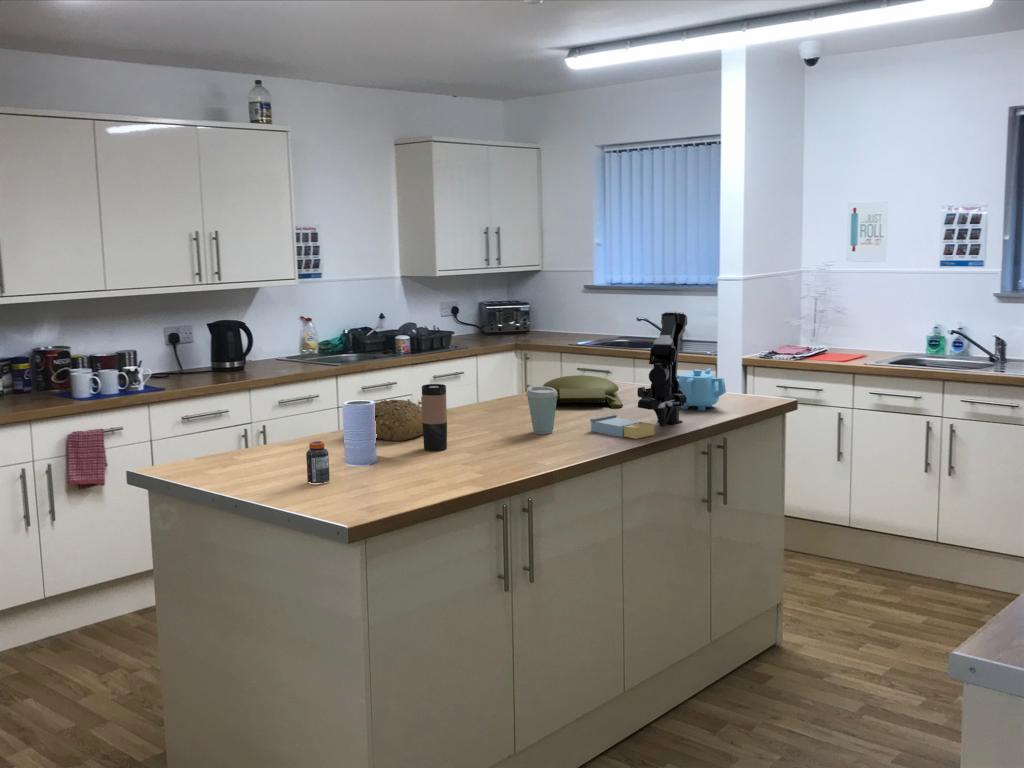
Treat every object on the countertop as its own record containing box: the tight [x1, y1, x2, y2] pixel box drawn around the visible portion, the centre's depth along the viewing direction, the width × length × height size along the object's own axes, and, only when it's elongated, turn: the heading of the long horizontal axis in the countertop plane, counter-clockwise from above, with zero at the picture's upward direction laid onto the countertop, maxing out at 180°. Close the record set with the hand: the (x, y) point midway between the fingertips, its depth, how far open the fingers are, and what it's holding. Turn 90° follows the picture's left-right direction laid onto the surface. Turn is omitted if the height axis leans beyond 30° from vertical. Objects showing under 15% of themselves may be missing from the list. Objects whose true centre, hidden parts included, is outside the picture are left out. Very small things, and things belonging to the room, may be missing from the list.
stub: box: [623, 421, 655, 440], centre depth 326 cm, size 9×5×4 cm, turn 131°
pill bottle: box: [305, 440, 331, 483], centre depth 272 cm, size 6×6×11 cm
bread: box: [373, 399, 423, 442], centre depth 334 cm, size 24×21×12 cm
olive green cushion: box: [542, 374, 624, 409], centre depth 393 cm, size 35×31×10 cm
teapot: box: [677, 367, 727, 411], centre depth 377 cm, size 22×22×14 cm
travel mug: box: [421, 383, 448, 452], centre depth 310 cm, size 8×8×20 cm
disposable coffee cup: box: [525, 385, 558, 435], centre depth 334 cm, size 11×11×15 cm
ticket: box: [589, 414, 641, 438], centre depth 334 cm, size 11×14×4 cm
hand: (662, 426), depth 334 cm, fingers closed
